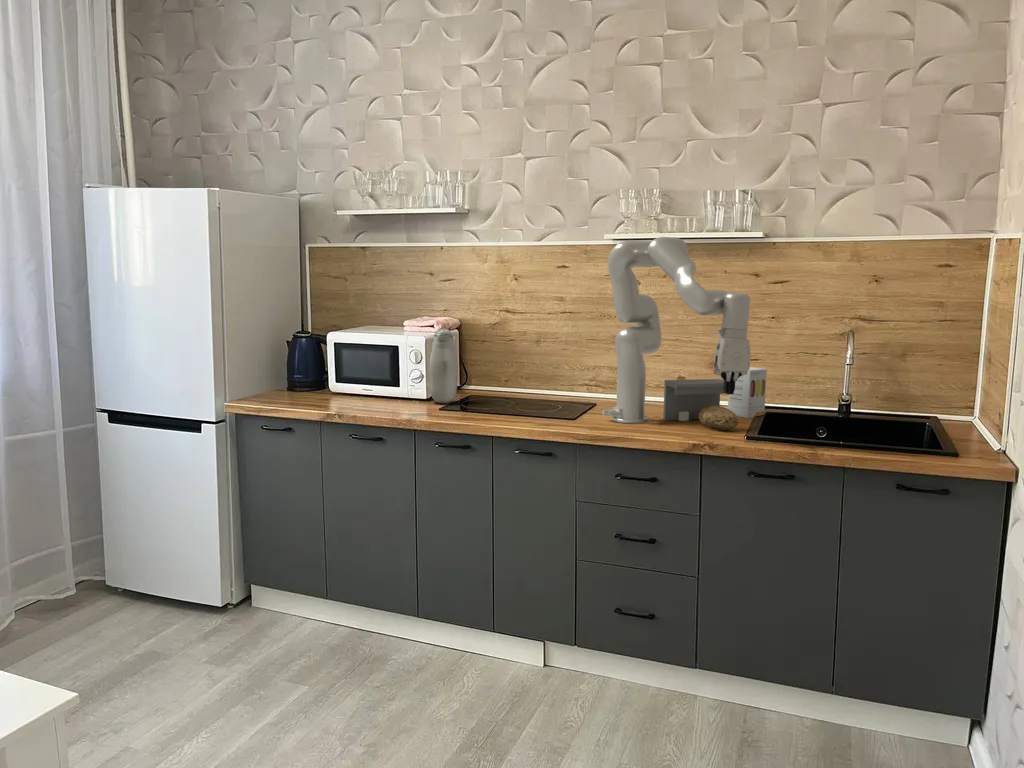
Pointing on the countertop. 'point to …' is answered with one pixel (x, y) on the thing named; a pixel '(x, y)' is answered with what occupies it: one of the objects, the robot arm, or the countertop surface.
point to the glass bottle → (443, 367)
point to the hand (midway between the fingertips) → (728, 393)
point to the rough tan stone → (718, 417)
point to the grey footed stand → (690, 397)
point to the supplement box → (749, 393)
